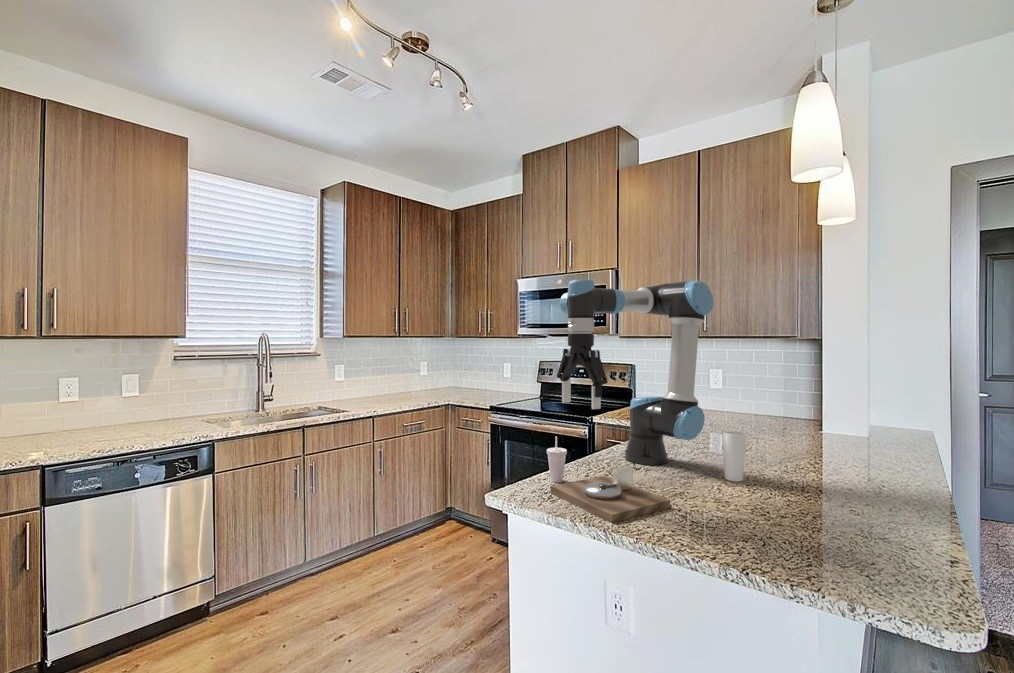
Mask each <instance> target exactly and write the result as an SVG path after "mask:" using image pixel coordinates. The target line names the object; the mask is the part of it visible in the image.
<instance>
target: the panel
mask: <svg viewBox="0 0 1014 673" xmlns="http://www.w3.org/2000/svg"><path fill="white" fill-rule="evenodd" d="M593 482H605V483H611V484H613V477H610V476H608V475H601V476H596V477H591V478H586V479H579V480H575V481H571V482H566V483H559V484H555V485H550V494H552V495H553V496H556V497H557V498H561V500H565V501H566V502H568V503H569V504H570V503H571V504H572V505H574V506H575V507H578V508H580V509H582V510H584V511H587V512H589V513H591V515H594V516H597V517H599V518H601V519H602V520H605V521H607V522H609V523H611V524H614V523H616V522H620V521H624V520H628V519H632V518H636V517H638V516H643V515H648V514H650V513H655V512H659V511H662V510H666V509H670V508H671V499H668V498H666V497H664V496H661V495H657V494H655V493H653V492H650V491H647V490H645V489H642V488H640V487H637V486H635V485H633V488H631V489H626V490H622V491H621V497H619V498H617V499H610V500H604V499H596V498H592V497H589V496H587V495H586V494H585V493H584V487H585V485H586V484H588V483H593Z"/></svg>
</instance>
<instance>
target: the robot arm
mask: <svg viewBox="0 0 1014 673" xmlns="http://www.w3.org/2000/svg"><path fill="white" fill-rule="evenodd" d="M567 288H568V289H567V292H565V293H563V294H562V295H561V297H560V300H559V307H560V310H561V311H562V313H563V314H566V315H567V321H568V322H567V331H568V332H569V334H568V335H567V345H568V347H570V348H563V350H562V357H561V360H560V364H559V367H558V370H557V374H556V378H557V379H560V381H561V403H562V404H565V403H567V404H568V403H571V402H572V399H571V398H572V387H571V385H572V384H571V383H572V381H571V376H572V375H573V373H574V371H575V370H576V367H577V366H582V367H584V369H585V370H586V373H587V375H588V376H589V378H590V380H591V382H592V385H591V410H600V409H601V407H602V405H601V403H602V402H601V400H602V399H601V398H602V396H603V392H602V391H603V390H602V389H603V385H605V384H608V382H609V381H608V378H607V376H606V371H605V369H604V366H603V363H602V360H601V354H600V353H601V352H600V350H598V349H594V350H593V349H592V347H594V344H595V336H594V335H595V334H594V332H595V314H596V315H597V314H609V315H613V314H619V313H630V312H631V313H634V312H637V313H638V314H641V315H646V314H647V315H658V316H668V320H669V322H671V324H672V328H671V329H672V330H671V344H670V353H669V354H670V356H669V365H668V366H669V368H668V370H669V371H668V382H667V392H666V393H665V394H664V395H663V396H641V397H634V398H632V399H631V400H630V408H629V439H628V443H627V446H626V449H625V450H624V459H625V460H626V461H627V462H631V463H634V464H638V465H639V464H640V465H649V466H651V465H652V466H654V465H664V464H666V463H668V459H669V456H668V453H667V450H666V446H665V443H664V436H665V437H670V438H675V439H677V440H686V441H690V440H693V439H696V438H697V437H698V436H699V434H701V432H702V430H703V428H704V425H705V420H706V416H705V413H704V410H703V409H702V408H701V407H700V406H699V400H698V398H696V397H695V385H696V384H695V382H696V372H697V371H696V370H697V358H698V356H697V355H698V345H699V331H700V326H701V325H702V324H703V323H704V322H705V317H706V315H709V314H710V313H711V312H712V310H713V308H714V296H713V292H712V290H711V289H710V287H709V285H708V284H706V283H705V282H703V281H700V280H688V281H679V282H669V283H667V282H666V283H662V284H657V285H653V286H645V287H639V288H638V289H636V290H634V289H633V290H632V289H631V290H629V289H627V290H626V289H625V290H620V289H615V288H613V287H612V288H602V287H601V288H600V287H599V288H598V287H595V282H594V281H593V280H592V279H583V278H582V279H573V280H570V281H569V282H568V285H567Z"/></svg>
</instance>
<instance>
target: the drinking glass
mask: <svg viewBox="0 0 1014 673" xmlns="http://www.w3.org/2000/svg"><path fill="white" fill-rule="evenodd" d="M746 452H747V434H746V433H745V432H742V431H737V430H724V431H722V454H723V466H724V467H723V469H724V479H725V480H726V481H730V482H733V483H734V482H736V483H741V482H742V481H744V471H745V462H746V461H745V459H746Z"/></svg>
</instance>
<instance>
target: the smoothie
mask: <svg viewBox="0 0 1014 673" xmlns="http://www.w3.org/2000/svg"><path fill="white" fill-rule="evenodd" d="M554 438H555V444H554V447H549V448H547V449H546V455H547V459H548V460H547V461H548V467H549V468H548V469H549V470H548V471H549V477H550V478H549V479H550V482H552V483H556V484H557V483H559V484H560V483H562V482H563V480H564V471H565V464H566V458H567V454H568V450H567V449H566V448H563V447H558V436H555V437H554Z"/></svg>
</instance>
